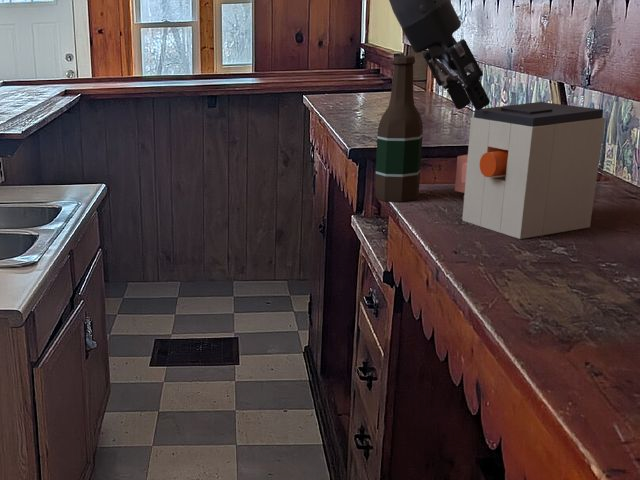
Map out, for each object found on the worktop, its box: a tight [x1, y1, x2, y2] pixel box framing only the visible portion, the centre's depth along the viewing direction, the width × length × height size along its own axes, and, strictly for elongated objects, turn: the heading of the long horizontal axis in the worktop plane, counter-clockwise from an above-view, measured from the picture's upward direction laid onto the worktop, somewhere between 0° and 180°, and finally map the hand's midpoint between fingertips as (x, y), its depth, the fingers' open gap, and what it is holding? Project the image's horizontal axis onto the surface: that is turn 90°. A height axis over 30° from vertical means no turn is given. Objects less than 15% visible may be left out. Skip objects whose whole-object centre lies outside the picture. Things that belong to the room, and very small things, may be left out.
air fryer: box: [461, 101, 606, 240], centre depth 130 cm, size 13×13×18 cm
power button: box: [480, 150, 508, 177], centre depth 128 cm, size 4×4×4 cm
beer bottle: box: [374, 54, 424, 203], centre depth 149 cm, size 8×8×24 cm
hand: (473, 106), depth 132 cm, fingers open, 8 cm apart
